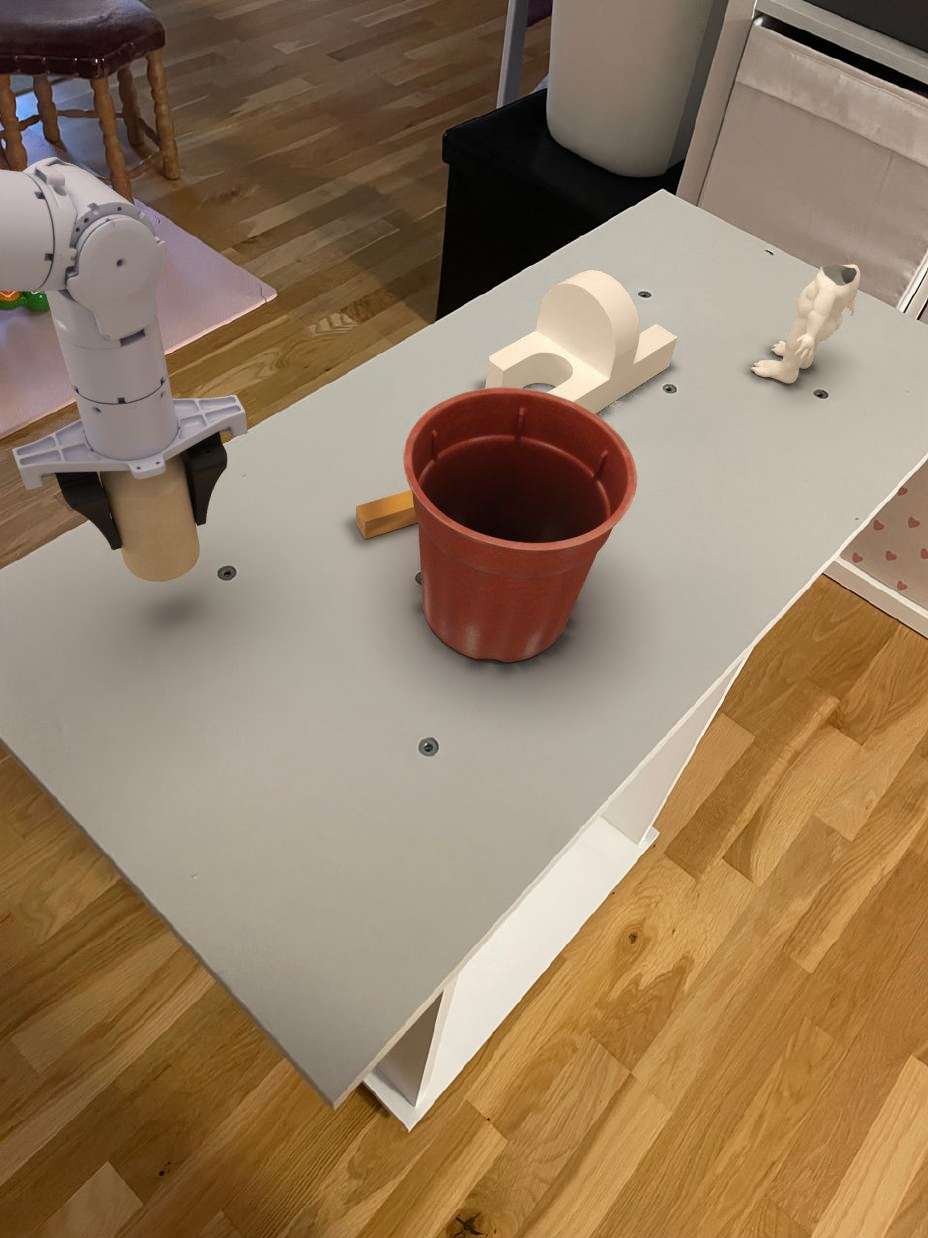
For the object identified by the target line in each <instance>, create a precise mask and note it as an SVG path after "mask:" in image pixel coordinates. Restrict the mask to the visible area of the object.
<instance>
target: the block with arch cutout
mask: <svg viewBox="0 0 928 1238" xmlns="http://www.w3.org/2000/svg"><path fill="white" fill-rule="evenodd" d="M677 341H678V336H676V335H675V334H674V333H672V332H670V331H669V330H667V329H665V328H664V327H662V326H660V325H659V324H657V323H655V324H654V325H652V326H650V327H648V328H647V329H645V330H643V331H642V332H641V328H640V319H639V315H638V311H637V308H636V305H635V303H634V301H633V300H632V297H631V296H630V293H628V291H627V290H626V288H624V286H623V285H622V284H621V283H620V282H619V281H618V280H616V278H614V277H613V276H611V275H609V274H607V273H606V272H603V271H601V270H594V269H588V270H585V271H580V272H578V273H576V274H575V275H572V276H571V277H569V278H567V279H565V280H563V281H561V282H559V283H557V284H556V285H554V286H553V287H551V288H550V289H549V290H547V292H546V293H545V295H544V296H543V298H542V300H541V302H540V306H539V310H538V316H537V322H536V328H535V330H534V331H532V332H530V333H529V334H527V335H525V336H523V337H522V338H520V339H517V340H516V341H514V342H513V343H510V344H509V345H507V346H505V347H503V348H501V349H500V350H498V351H496V352H494V353H492V354H491V355H489V356H488V363H487V371H486V379H485V387H484V389H485V388H497V387H510V388H522V389H524V388H525V387H526V386H527V387H528V386H529V385H534V384H545V385H550V386H553V387H554V388H552V389H550V390H548V391H547V392H546V393H549V394H553V395H556V396H559V397H562V398H565V399H567V400H570V401H572V402H574V403H577V404H579V405H581V406H583V407H584V408H586V409H588V410H590V411H591V412H593V413H594V414H596V415H597V413H599V412H601V411H603V409H605V408H606V407H608V406H610V405H611V404H613V403H614V402H616V401H618V400H619V399H621V398H623V397H624V396H625V395H627V394H628V393H630V392H631V391H633V390H635V389H636V388H638V387H639V386H641V385H642V384H644V383H646V382H647V381H649V380H650V379H652V378H654V377H655V376H657V375H659V374H660V373H661V372H663V371H665V370H666V369H668V368H669V367H670V365H671V361H672V358H673V355H674V352H675V348H676V345H677Z"/></svg>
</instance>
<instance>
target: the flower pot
mask: <svg viewBox="0 0 928 1238" xmlns="http://www.w3.org/2000/svg"><path fill="white" fill-rule="evenodd" d="M402 457H403V469H404V474H405V478H406V481H407V484H408V486H409V489H410V490H412V494H413V505H414V509H415V513H416V516H417V518H418V523H417V527H418V546H419V548H418V549H419V562H420V581H421V582H420V584H421V585H420V587H421V607H422V611H423V615H424V617H425V619H426V622H427V623H428V625H429V627H430V628H431V629H432V631H433V632H434V633H435V634H436V636H437V637H438V638H439V639H440V640H441V641H442V642H443V643H444V644H446V645H448V646H449V647H450V648H451V649H453V650H455V651H456V652H458V653H460V654H463V655H464V656H466V657H469V658H471V659H472V658H473V659H475V660H481V659H490V660H491V659H492V660H497V661H501V662H503V663H513V662H518V661H519V662H520V661H523V660H527V659H530V658H532V657H534V656H536V655H539V654H541V653H542V652H544V651H546V650H547V649H548V648H550V647H551V646H552V645H553V644H554V643H556V641H557V640H558V639H559V638H560V636H561V635H562V634H563V632H564V629H565V628H566V626H567V623H568V621H569V619H570V617H571V614H572V612H573V610H574V607H575V605H576V602H577V601H578V598H579V595H580V593H581V592H582V589H583V587H584V584H585V583H586V580H587V578H588V575H589V573H590V570H591V569H592V567H593V563H594V561H595V559H596V557H597V555H598V553H599V551H600V550H601V549H602V548H603V547H604V545H606V543H607V541H608V539H609V538H610V535H611V533H612V531H613V529H614V527H615V526H616V525H617V524H618V523H619V522H621V520H622V519H623V517H624V516H625V515H626V513H627V512H628V511H629V509H630V507H631V506H632V504H633V502H634V498H635V496H636V492H637V486H638V473H637V467H636V463H635V460H634V457H633V454H632V452H631V450H630V449H629V447H628V445H627V443H626V442H625V440H624V439H623V438H622V436H621V435H620V434H619V433H618V432H617V430H616V429H615V428H614V427H612V426H611V425H610V424H609V423H608V422H607V421H605V419H603V418H602V417H600V416H599V415H598V414H597V413H596V414H594V413H593V412H591V411H590V410H588V409H586V408H584V407H583V406H581V405H579V404H577V403H574V402H572V401H570V400H567V399H565V398H562V397H559V396H556V395H553V394H549V393H547V392H545V391H541V390H536V389H530V388H510V387H497V388H485V387H484V388H479V389H474V390H473V389H472V390H468V391H464V392H462V393H460V394H456V395H454V396H452V397H450V398H447V399H445V400H444V401H441V402H439V403H437V404H436V405H434V406H433V407H431V408H429V409H428V410H427V411H426V412H425V413H423V415H421V417H419V419H418V420H417V421H415V423H414V424H413V427H412V428H411V429H410V432H409V433H408V436H407V437H406V440H405V443H404V448H403V456H402Z"/></svg>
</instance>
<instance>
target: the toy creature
mask: <svg viewBox="0 0 928 1238" xmlns="http://www.w3.org/2000/svg"><path fill="white" fill-rule="evenodd" d="M860 281H861V271H860V269H859V267H858V265H857V264H853V263H851V264H838V263H834V264H821V266H820V268H819V271H818V272H817V273H816V276H815V278H814V279H813V280H812V281H811V282H810V283H809V284H807V285H806V286H805V287H804V289H802V291H801V292H800V294H799V296H798V299H797V301H796V302H797V303H796V309H797V316H796V317H795V319H794V321H793V323H792V325H791V328H790V329H789V333H788V336H787V338H786V339H785V340H778V343H775V344H773V348H771V349H770V350H771V351H772V352H773V353H774V354H775V355H777V356H781V357H783V358H782V360H781V361H779V360H775V359H769V360H768V359H761V360H758V361H757V362H754V363H753V365H754V366H751V367H750V369H751V370H752V371H753V372H754V374H755V375H757V376H760V377H762V378H772V379H774V380H776V381H779V382H781V383H785V384H793V383H795V382H796V381H797V379H798V377H799V374H800V369H802V370H803V369H805V370H806V369H808V368H810V367H811V365H812V363H813V361H814V358H815V357H814V356H815V353H816V351H817V350H818V348H819V345H820V342H826V341H827V340H828V339H829V338H831V337H832V336H833V334H834V333H835V332H836V331H838V330H839V329H840V327H841V325H842V323H843V314H842V312H843V311H844V310H845V309H846V308H847V309H848V311H849V312H851V313H850V314H849V315H850V317H853V316H854V314H855V307H856V297H857V294H858V291H859V287H860V286H859V285H860Z"/></svg>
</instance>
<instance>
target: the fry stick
mask: <svg viewBox="0 0 928 1238" xmlns="http://www.w3.org/2000/svg"><path fill="white" fill-rule="evenodd" d="M415 524H418V518H417V516H416V513H415V509H414V505H413V494H412V490H411V489H409V490H406V491H403V492H399V493H395V494H393V495H389V496H386V497H382V498H379V499H376V500H373V501H369V502H366V503H363V504H359V505H356V506H355V525H356V526H357V528H358V530H359V531H360V533H361V535H362V537H363V538H364V539H365V540H367V539H370V538H374V537H377V536H380V535H384V534H387V533H390V532H392V531H395V530H399V529H403V528H405V527H408V526H412V525H415Z"/></svg>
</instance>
